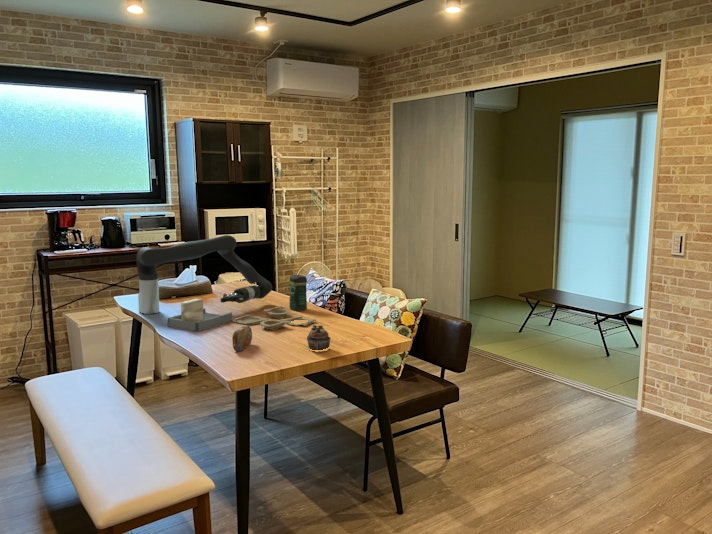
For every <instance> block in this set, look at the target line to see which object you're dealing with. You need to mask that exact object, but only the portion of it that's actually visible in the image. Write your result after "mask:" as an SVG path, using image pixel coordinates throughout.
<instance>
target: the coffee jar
mask: <svg viewBox="0 0 712 534" xmlns="http://www.w3.org/2000/svg"><path fill="white" fill-rule="evenodd" d="M307 278H308V277H306V276H305V275H300V274H291V275H290V276H289V280H288V281H289V305H288V306H289V310H293V311H295V312H296V311H300V310H303V311H306V310H307V309H308V303H307V302H308V298H307V285H308V280H307ZM305 309H306V310H305Z"/></svg>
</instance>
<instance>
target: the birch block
mask: <svg viewBox="0 0 712 534" xmlns="http://www.w3.org/2000/svg"><path fill="white" fill-rule="evenodd" d="M203 309H204V299H203V298H194V299H193V298H192V299H191V300H190V299H189V300H185V301H182V302H180V310H181V312H180V313H181V314H180V315H181V319H182V320H185V321H191V322H200V321H203Z"/></svg>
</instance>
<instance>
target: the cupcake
mask: <svg viewBox="0 0 712 534" xmlns="http://www.w3.org/2000/svg"><path fill="white" fill-rule="evenodd" d="M331 339H332V338H331V337H330V336H329V332H328V331H327V330H326V329H325V328H324V326H323V325H314V324H313V326H312V327H311V328H310V331H309V332H308V334H307V337H306V341H307V344H308V349H309V348H310V349H312V350H323V349H326V348H328V347H329V348H330V345H331V344H330V343H331Z"/></svg>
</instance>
